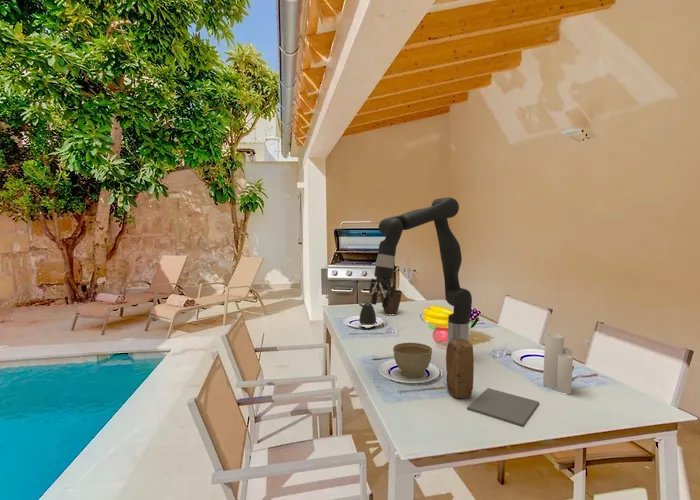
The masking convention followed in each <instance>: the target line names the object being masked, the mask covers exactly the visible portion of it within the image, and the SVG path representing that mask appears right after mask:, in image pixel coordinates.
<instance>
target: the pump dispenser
mask: <svg viewBox="0 0 700 500" xmlns="http://www.w3.org/2000/svg"><path fill="white" fill-rule="evenodd" d="M358 305H359V307H361V309H360V313H359V320H358V321H359V325H360V324H361V325H374V324H375V325H376V323H377V316H376V312H375V308H374V306H373V304H371V302H365V303H364V304H363V303H359V304H358ZM361 325H360V326H361Z"/></svg>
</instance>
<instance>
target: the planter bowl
mask: <svg viewBox="0 0 700 500" xmlns="http://www.w3.org/2000/svg"><path fill="white" fill-rule="evenodd" d="M392 350H393V357H394V361H395V363H396V366H397V367H398V368H399V370H400V373H401V375H403V376H405V377H408V378H420V377H422V376H424V374H425V371H426V370H427V369H428V368H429V366H430V364H431V360H432V353H433V348H432V347H431V346H430V345H427V344H425V343H421V342H420V343H419V342H402V343H397V344H395V345H394V346H393V348H392Z"/></svg>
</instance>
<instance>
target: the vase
mask: <svg viewBox="0 0 700 500" xmlns="http://www.w3.org/2000/svg"><path fill="white" fill-rule="evenodd" d="M572 352H573V351H572V349H571V348H568V347H565V336H564V335H563V334H560V333H553V332H551V333H550V332H548V333H545V334H544V352H543V354H544V357H543V376H542V377H543V379H542V382H543V383H542V385H543V384H544V385H545V386H547V387H549V388H548V389H550V388H557V389H556V390H557V391H558V392H561V393H566V394H570V393H571V394H572V385H573V384H572V383H573V363H574V357H573V355H572ZM544 385H543V386H544ZM545 386H544V387H545ZM547 387H546V388H547ZM557 391H556V392H557ZM558 392H557V393H558ZM561 393H560V394H561Z"/></svg>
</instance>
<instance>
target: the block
mask: <svg viewBox="0 0 700 500" xmlns="http://www.w3.org/2000/svg"><path fill="white" fill-rule="evenodd" d="M473 346H474V345H473V344H472V343H471V342H470V341H469V340H468V341H467V340H465V339H454V340H451V341H450V342H449V343H448V342H447V345H446V351H445V352H446V354H445V363H446V365H445V367H446V387H447V390H448V392H449V394H450V395H451V396H453V397H454V398H457V399H467V398H469V397H471V396H472V391H473V389H474V371H475V369H474V347H473Z"/></svg>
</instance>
